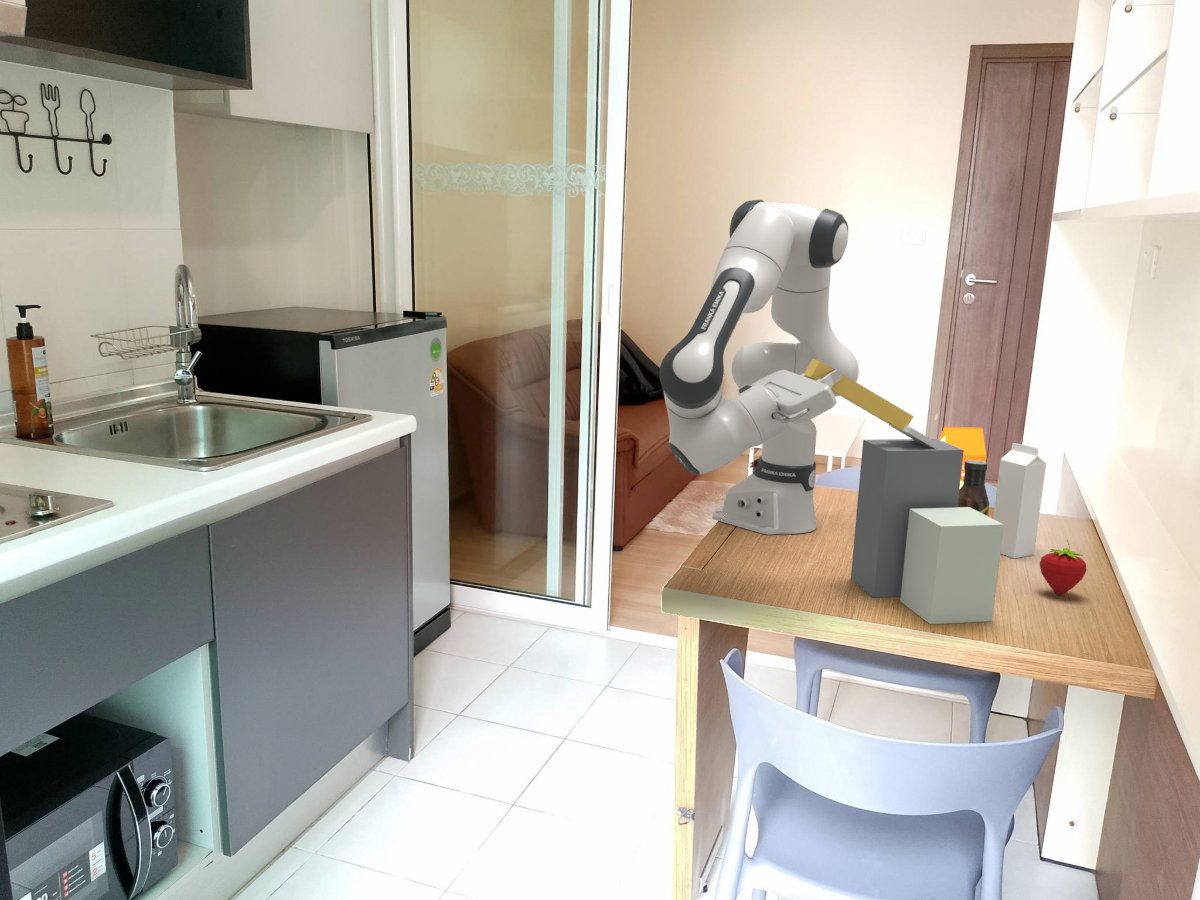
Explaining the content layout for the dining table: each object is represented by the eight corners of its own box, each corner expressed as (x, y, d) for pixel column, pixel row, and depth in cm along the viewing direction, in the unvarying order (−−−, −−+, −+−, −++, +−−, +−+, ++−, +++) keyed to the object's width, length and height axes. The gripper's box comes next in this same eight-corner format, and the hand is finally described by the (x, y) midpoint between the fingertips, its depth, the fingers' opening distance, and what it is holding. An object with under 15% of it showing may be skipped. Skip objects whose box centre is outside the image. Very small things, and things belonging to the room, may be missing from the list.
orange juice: (979, 518, 214) (989, 431, 210) (940, 517, 215) (949, 430, 210) (966, 508, 222) (976, 424, 218) (928, 507, 222) (937, 423, 218)
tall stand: (873, 597, 165) (887, 451, 159) (850, 579, 173) (863, 439, 168) (947, 594, 167) (963, 449, 162) (921, 576, 176) (936, 438, 170)
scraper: (815, 378, 155) (825, 362, 154) (799, 372, 161) (807, 357, 161) (935, 448, 162) (944, 433, 161) (914, 440, 168) (923, 425, 168)
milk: (1013, 559, 187) (1027, 450, 182) (988, 549, 193) (1001, 443, 188) (1034, 554, 190) (1049, 447, 185) (1009, 545, 195) (1022, 440, 190)
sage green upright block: (930, 624, 154) (941, 526, 150) (900, 601, 164) (909, 508, 160) (991, 621, 156) (1004, 524, 152) (958, 598, 166) (969, 507, 162)
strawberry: (1033, 586, 172) (1040, 533, 170) (1079, 592, 170) (1087, 538, 168) (1038, 598, 167) (1045, 543, 165) (1085, 603, 165) (1093, 548, 163)
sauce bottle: (985, 568, 181) (997, 467, 177) (950, 565, 182) (962, 464, 178) (979, 557, 187) (991, 459, 183) (945, 554, 189) (956, 457, 184)
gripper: (777, 406, 147) (853, 362, 148) (734, 387, 167) (802, 348, 168) (794, 441, 149) (869, 397, 150) (750, 417, 169) (816, 379, 169)
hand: (833, 371), depth 159 cm, fingers closed on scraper, 3 cm apart
